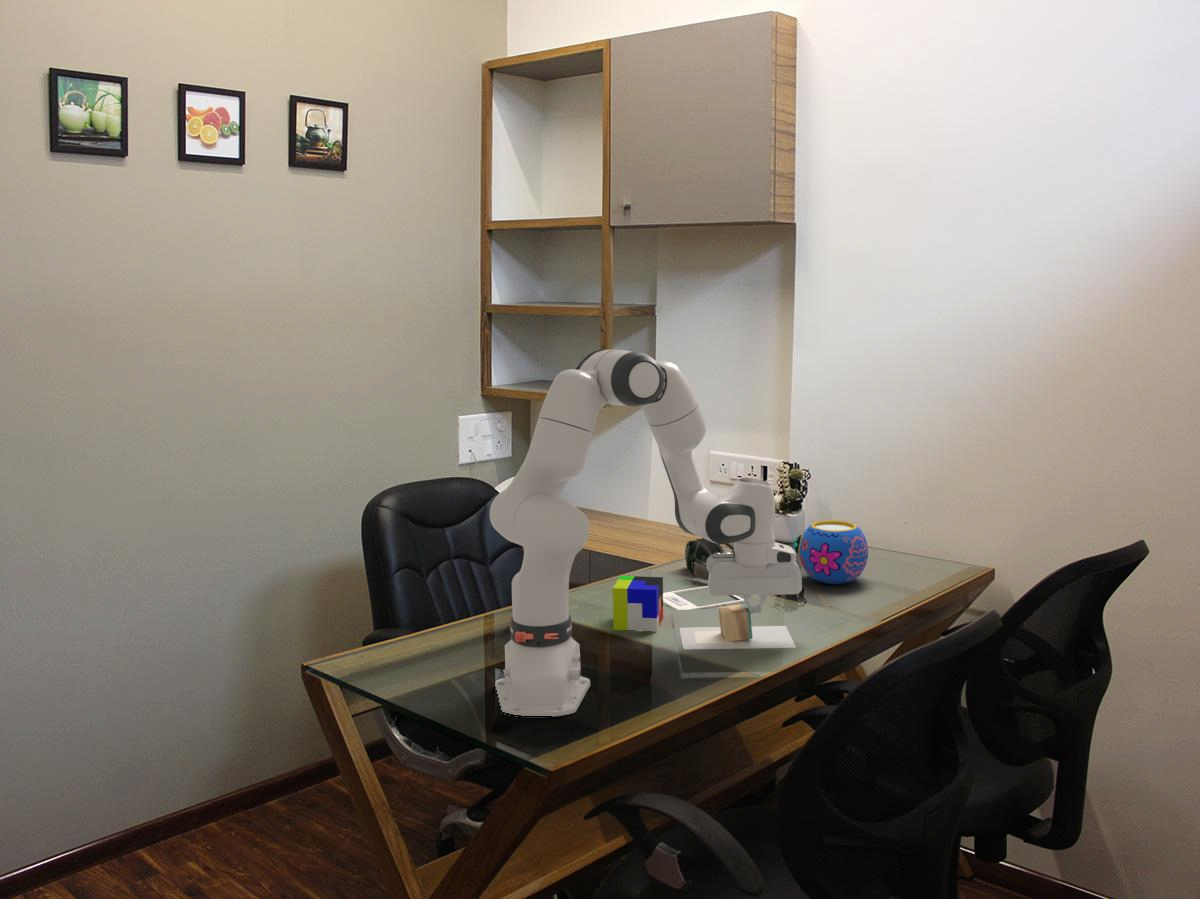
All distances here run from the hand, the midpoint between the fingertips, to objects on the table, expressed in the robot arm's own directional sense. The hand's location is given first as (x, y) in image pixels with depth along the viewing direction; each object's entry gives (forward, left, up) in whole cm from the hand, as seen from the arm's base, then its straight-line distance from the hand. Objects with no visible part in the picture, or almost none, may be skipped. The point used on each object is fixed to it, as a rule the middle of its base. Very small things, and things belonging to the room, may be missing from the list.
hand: (754, 613), depth 240 cm
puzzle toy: (+13, +25, -7) cm, 29 cm away
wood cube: (0, +1, -2) cm, 2 cm away
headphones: (+52, +4, -7) cm, 52 cm away
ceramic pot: (+44, -26, -7) cm, 52 cm away
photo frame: (+31, +10, -7) cm, 33 cm away
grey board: (0, +4, -6) cm, 8 cm away
